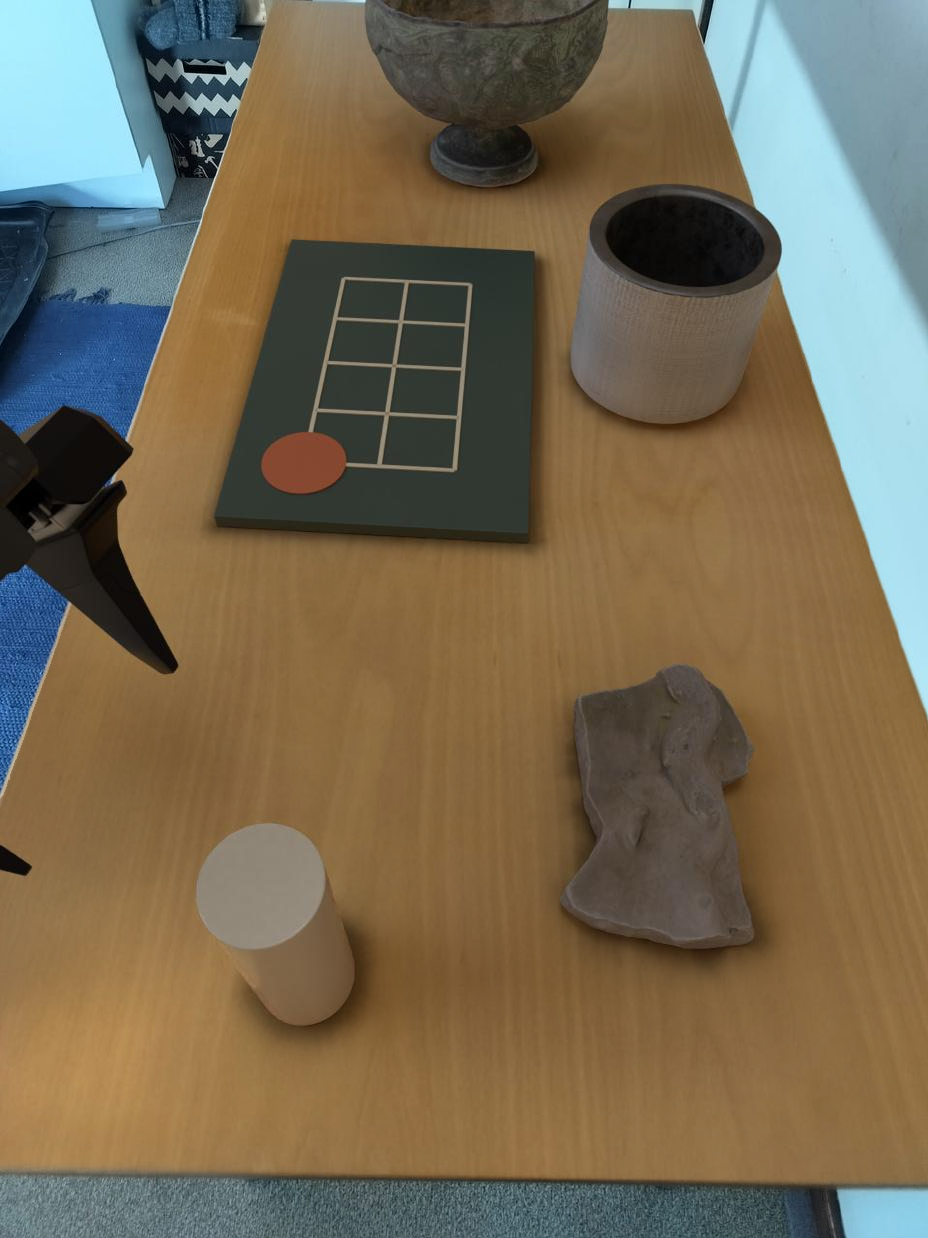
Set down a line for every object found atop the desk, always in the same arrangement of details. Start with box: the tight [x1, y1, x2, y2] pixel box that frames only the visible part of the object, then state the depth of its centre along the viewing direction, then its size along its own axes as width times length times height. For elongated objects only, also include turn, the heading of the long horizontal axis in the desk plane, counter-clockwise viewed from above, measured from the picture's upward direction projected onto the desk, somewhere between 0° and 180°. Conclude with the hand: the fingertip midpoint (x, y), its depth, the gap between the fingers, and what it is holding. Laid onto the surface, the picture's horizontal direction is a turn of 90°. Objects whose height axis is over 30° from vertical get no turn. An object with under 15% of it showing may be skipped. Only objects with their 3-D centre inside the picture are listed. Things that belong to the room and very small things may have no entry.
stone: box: [559, 663, 755, 950], centre depth 46 cm, size 15×10×4 cm, turn 173°
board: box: [213, 238, 536, 544], centre depth 67 cm, size 20×30×1 cm, turn 177°
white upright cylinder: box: [195, 822, 356, 1027], centre depth 38 cm, size 5×5×13 cm
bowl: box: [364, 0, 610, 188], centre depth 78 cm, size 20×19×15 cm
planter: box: [569, 183, 783, 425], centre depth 63 cm, size 12×13×11 cm
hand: (103, 764), depth 35 cm, fingers open, 9 cm apart
